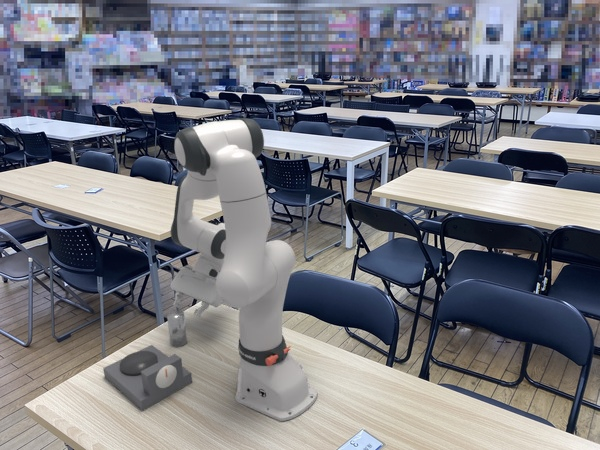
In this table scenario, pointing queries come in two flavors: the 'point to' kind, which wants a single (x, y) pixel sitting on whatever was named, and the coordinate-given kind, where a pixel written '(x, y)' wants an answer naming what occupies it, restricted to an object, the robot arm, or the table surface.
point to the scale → (148, 376)
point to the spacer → (177, 328)
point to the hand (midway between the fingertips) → (185, 311)
